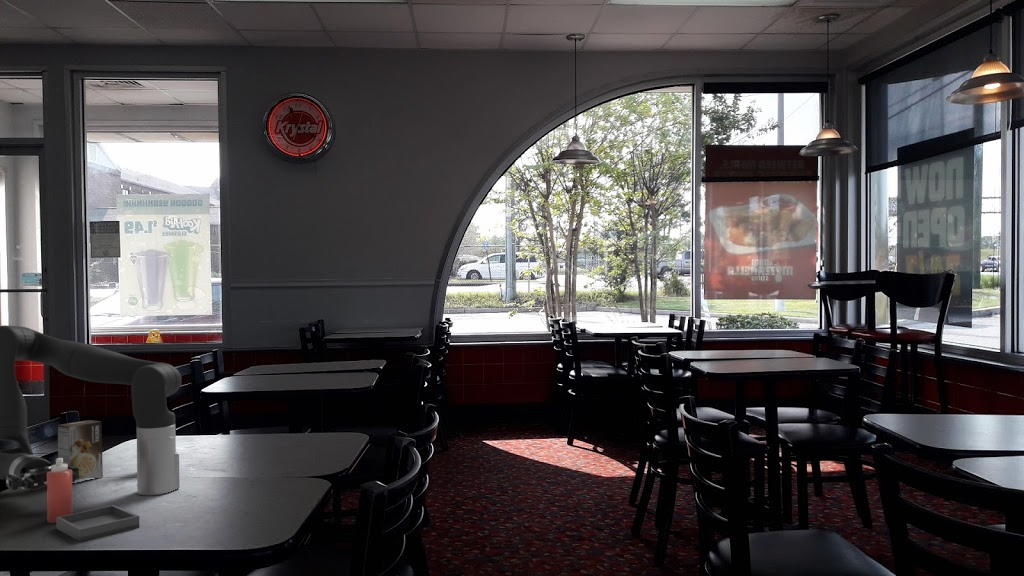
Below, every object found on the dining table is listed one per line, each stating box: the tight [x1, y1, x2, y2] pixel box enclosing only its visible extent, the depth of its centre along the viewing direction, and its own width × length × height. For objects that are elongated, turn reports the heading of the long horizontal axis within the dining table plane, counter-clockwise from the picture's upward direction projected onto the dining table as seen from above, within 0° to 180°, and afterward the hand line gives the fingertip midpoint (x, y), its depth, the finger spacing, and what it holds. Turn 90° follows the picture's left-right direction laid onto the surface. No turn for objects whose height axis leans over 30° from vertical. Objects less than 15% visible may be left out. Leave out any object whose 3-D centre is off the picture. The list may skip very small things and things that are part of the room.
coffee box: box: [57, 419, 104, 480], centre depth 208 cm, size 9×6×16 cm
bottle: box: [46, 457, 74, 524], centre depth 171 cm, size 5×5×14 cm
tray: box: [55, 504, 140, 543], centre depth 164 cm, size 12×14×2 cm
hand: (53, 481), depth 174 cm, fingers open, 8 cm apart
